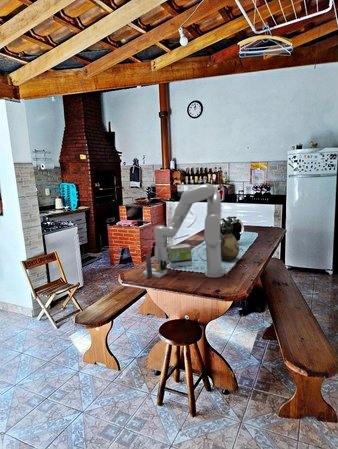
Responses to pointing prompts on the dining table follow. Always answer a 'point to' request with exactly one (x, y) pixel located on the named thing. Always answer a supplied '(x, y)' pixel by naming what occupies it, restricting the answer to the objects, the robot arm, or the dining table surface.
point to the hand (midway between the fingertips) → (163, 269)
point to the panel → (156, 272)
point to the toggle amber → (158, 267)
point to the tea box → (180, 255)
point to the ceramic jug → (229, 245)
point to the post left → (149, 266)
